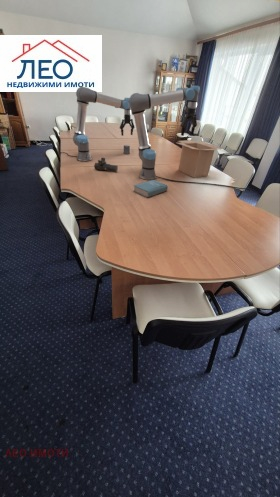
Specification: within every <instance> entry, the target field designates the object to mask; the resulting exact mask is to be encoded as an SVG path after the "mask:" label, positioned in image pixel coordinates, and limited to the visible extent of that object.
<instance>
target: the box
mask: <svg viewBox="0 0 280 497" xmlns="http://www.w3.org/2000/svg"><path fill="white" fill-rule="evenodd" d="M176 144H178V145H180V146H181V151H180V158H179V163H178V171H179V172H181V173H183V174H186V175H188V176H190V177H191V178H193V179H195V178H202V177H209V175H210V169H211V166H212V161H213V159H214V158H213V157H214V153H215V150H218V149H222V146H219V145H215V144H212V143H209V142H206V141H199V142H196V141H193V140H190V139H189V140H177V142H176Z"/></svg>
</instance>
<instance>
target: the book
mask: <svg viewBox="0 0 280 497" xmlns="http://www.w3.org/2000/svg"><path fill="white" fill-rule="evenodd" d="M168 187H169V186H168V184H166V183H164V182H160V181H159V180H156V179H153V180H146V181H143V182H140V183H137V184H134V185H133V193H135V194H138V195H140V196H142V197H145V198H150V197H153V196H156V195H159V194H161V193H164V192H167V191H168Z"/></svg>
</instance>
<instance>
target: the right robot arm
mask: <svg viewBox="0 0 280 497" xmlns="http://www.w3.org/2000/svg"><path fill="white" fill-rule="evenodd" d="M200 89H201V88H200V85H190V87H177V88H176V90H171V91H165V92H160V93H155V94H150V93H146V94H145V93H144V94H143V93H139V92H134V93H132V94H131V95H130V96H129V97H128V98H129V105H130V107H131V116H133V119H134V123H135V124H134V125H135V128H136V135H137V140H138V147H137V148H138V157H139V159H140V160H141V169H140V172H139V178H140V179H142V180H146V181H150V180H156V178H158V179H161V180H166V181H169V182H175V183H183V184H184V183H186V184H197V185H199V184H200V185H209V186H217V187H219V186H221V187H226V188H232V189H238V190H247V191H249V192H251V189H250V188H249V187H248V188H247V187H238V186H232V185H226V184H217V183H211V182H210V183H209V182H198V181H197V182H196V181H185V180H184V181H183V180H174V179H169V178H165V177H162V176H157V174H156V169H155V167H156V158H157V152H156V150H154V149H152V144H150V143H149V137H148V131H147V124H146V116H145V112H146V111H147V110H149V109H152V108H153V107H157V106H158V107H159V106H163V105H168V104H174V103H178V102H183V101H188V103H187V109H186V113H187V114H184V115H183V118H182V121H181V123H180V125H179V126H180V128H181V130H180V131H181V132H180V136H184V135H185V129H186V125H187V124H188V122H189V121H190V122H191V130H190V136H191V135H192V136H193V135H194V133H195V130H196V128H197V126H198V120H197V114H196V111H197V106H198V100H199V95H200Z"/></svg>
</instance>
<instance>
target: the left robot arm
mask: <svg viewBox="0 0 280 497" xmlns="http://www.w3.org/2000/svg"><path fill="white" fill-rule="evenodd" d="M75 96H76V103H77V114H76V126H75V131H74V132H73V133H74V134H73V136H72V141H73V144H75V145H76V146H77V155H70V154H68V153H67V152H65V151H60V152H59V154H66V155H67V156H68V157H72V158H73V157H74V158H76V159H77V161H79V162H91V161H92V159H93V158H92V155H91V153H90V139H89V136H88V135H86V132H85V131H86V119H87V110H88V106H89V105H90V104H89V103H92V104H96V103H98V104H102V105H106V106H110V107H114V108H116V109H122V110H123V119H121V123H120V125H119V129H120V133H121V134H120V135H121V136H122V137H123V136H124V128H125V126H126V125H129V127H130V135H131V136H133V132H134V129H135V128H136V126H135V124H134V120H133V119H134V118H133V119H132V112H131V107H130V105H129V98H130V97H124V98H123V99H121V98H117V97H113V96H109V95H107V94H103V93H99V92H97V91H96V90H93V89H91V88H89V87H86V86H79V87H78V88H76V92H75Z"/></svg>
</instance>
